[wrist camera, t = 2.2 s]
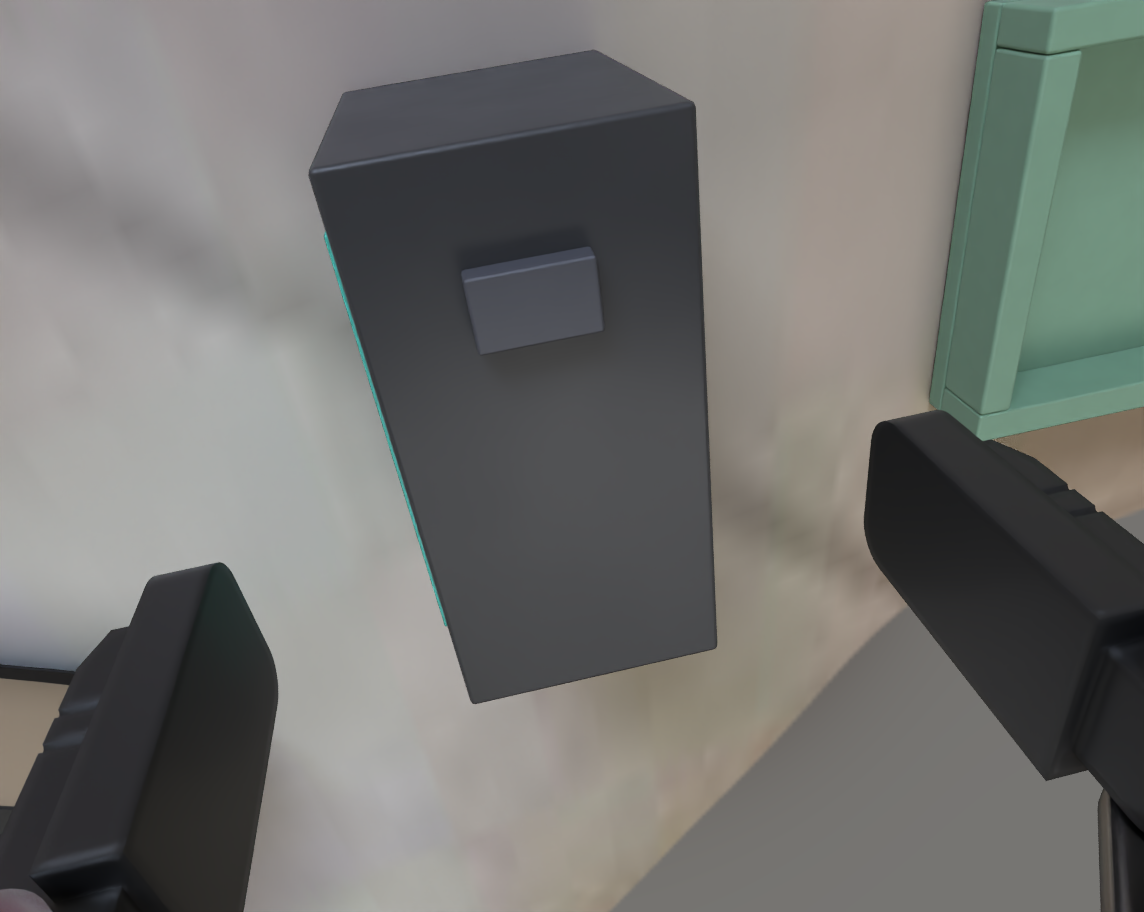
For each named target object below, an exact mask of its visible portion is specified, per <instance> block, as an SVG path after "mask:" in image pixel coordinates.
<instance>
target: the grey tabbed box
mask: <svg viewBox="0 0 1144 912" xmlns="http://www.w3.org/2000/svg"><path fill="white" fill-rule="evenodd" d="M309 179H310V182H311V185H312V188H313V192H314V195H315V198H316V201H317V205H318V208H319V211H320V214H321V217H322V221H323V224H324V227H325V230H326V231H325V234H324V239H325V242H326V245H327V248H328V252H329V255H330V258H331V261H332V264H333V268H334V271H335V274H336V277H337V281H338V284H339V287H340V290H341V293H342V297H343V300H344V303H345V306H346V309H347V313H348V316H349V319H350V322H351V326H352V329H353V332H354V335H355V338H356V342H357V345H358V348H359V351H360V354H361V358H362V361H363V364H364V367H365V371H366V374H367V377H368V380H369V383H370V387H371V390H372V393H373V396H374V399H375V403H376V406H377V409H378V412H379V416H380V419H381V422H382V425H383V428H384V432H385V435H386V438H387V441H388V444H389V448H390V451H391V454H392V457H393V461H394V464H395V467H396V470H397V473H398V477H399V480H400V483H401V486H402V489H403V493H404V496H405V499H406V502H407V506H408V509H409V512H410V515H411V518H412V522H413V525H414V528H415V531H416V534H417V538H418V541H419V544H420V547H421V551H422V554H423V557H424V560H425V563H426V567H427V570H428V573H429V576H430V580H431V583H432V586H433V589H434V592H435V596H436V599H437V602H438V605H439V608H440V612H441V615H442V618H443V621H444V625H445V626H448V629H449V632H450V636H451V639H452V642H453V645H454V649H455V652H456V655H457V658H458V662H459V665H460V668H461V671H462V675H463V678H464V681H465V684H466V688H467V691H468V694H469V697H470V700H471V702H472V703H473V704H478V703H482V702H487V701H491V700H495V699H500V698H504V697H508V696H513V695H517V694H521V693H526V692H530V691H534V690H539V689H543V688H547V687H552V686H556V685H561V684H565V683H569V682H574V681H578V680H582V679H587V678H591V677H595V676H600V675H604V674H608V673H613V672H617V671H621V670H626V669H630V668H634V667H639V666H643V665H647V664H652V663H656V662H660V661H665V660H669V659H673V658H678V657H682V656H686V655H691V654H695V653H699V652H704V651H708V650H713V649H715V648H716V647H717V626H716V601H715V576H714V551H713V527H712V502H711V477H710V452H709V427H708V403H707V378H706V353H705V328H704V303H703V279H702V254H701V229H700V204H699V180H698V155H697V130H696V107H695V105H694V102H692V101H690V100H689V99H687V98H685V97H683V96H681V95H679V94H677V93H675V92H674V91H672V90H670V89H668V88H666V87H664V86H662V85H660V84H659V83H657V82H655V81H653V80H651V79H649V78H647V77H645V76H644V75H642V74H640V73H638V72H636V71H634V70H632V69H630V68H629V67H627V66H625V65H623V64H621V63H619V62H617V61H615V60H614V59H612V58H610V57H608V56H606V55H604V54H602V53H601V52H599V51H596V50H590V51H584V52H578V53H572V54H567V55H561V56H555V57H549V58H543V59H537V60H531V61H525V62H520V63H514V64H508V65H502V66H496V67H490V68H484V69H478V70H473V71H467V72H461V73H455V74H449V75H443V76H437V77H431V78H426V79H420V80H414V81H408V82H402V83H396V84H390V85H384V86H379V87H373V88H367V89H361V90H355V91H349V92H345V93H343V94H342V96H341V99H340V101H339V103H338V105H337V108H336V110H335V112H334V115H333V117H332V119H331V121H330V124H329V126H328V128H327V130H326V133H325V135H324V137H323V140H322V142H321V144H320V146H319V149H318V151H317V153H316V156H315V158H314V160H313V162H312V165H311V167H310V169H309Z"/></svg>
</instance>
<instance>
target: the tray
mask: <svg viewBox="0 0 1144 912" xmlns="http://www.w3.org/2000/svg"><path fill="white" fill-rule="evenodd" d="M929 402H930V404H931V405H933V406H934V407H935V408H936V409H937V410H943V411H946V412H947V413H949V414H950V415H952V416H953V417H954V418H955V419H957V420H958V421H959V422H960V423H961V424H963V425H964V426H965V427H966V428H967V429H969V430H970V431H971V432H972V433H973V434H975V435H976V436H977V437H978V438H979V439H981V440H982V441H986V440H990V439H991V440H992V439H996V438H1001V437H1006V436H1010V435H1015V434H1019V433H1024V432H1029V431H1033V430H1038V429H1043V428H1047V427H1052V426H1056V425H1061V424H1066V423H1070V422H1075V421H1080V420H1084V419H1089V418H1093V417H1098V416H1103V415H1107V414H1112V413H1117V412H1121V411H1126V410H1130V409H1135V408H1140V407H1144V0H993V1H988V2H987V3H985V5H984V12H983V19H982V26H981V34H980V41H979V48H978V55H977V62H976V69H975V77H974V84H973V91H972V98H971V105H970V112H969V120H968V127H967V134H966V141H965V148H964V156H963V163H962V170H961V177H960V184H959V191H958V199H957V206H956V213H955V220H954V227H953V234H952V242H951V249H950V256H949V263H948V270H947V278H946V285H945V292H944V299H943V306H942V313H941V321H940V328H939V335H938V342H937V349H936V356H935V364H934V371H933V378H932V385H931V392H930V399H929Z"/></svg>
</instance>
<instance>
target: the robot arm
mask: <svg viewBox="0 0 1144 912" xmlns="http://www.w3.org/2000/svg"><path fill="white" fill-rule="evenodd" d="M1067 485H1068V484H1067V483H1066V482H1064V481H1063V480H1062V479H1061V478H1059V477H1058V476H1057V475H1056V474H1054V473H1053V472H1052V471H1050V470H1049V469H1048V468H1047V467H1045V466H1044V465H1043V464H1042V463H1040V462H1039V461H1038V460H1037V459H1035V458H1033V457H1031V456H1029V455H1026V454H1024V453H1022V452H1019V451H1017V450H1015V449H1012V448H1010V447H1008V446H1005V445H1003V444H1001V443H998V442H996V441H994V440H991V439H990V440H986V441H982V440H981V439H979V438H978V437H977V436H976V435H975V434H973V433H972V432H971V431H970V430H969V429H967V428H966V427H965V426H964V425H963V424H961V423H960V422H959V421H958V420H957V419H955V418H954V417H953V416H952V415H950V414H949V413H947V412H946V411H943V410H934V411H929V412H925V413H920V414H915V415H911V416H906V417H902V418H897V419H892V420H888V421H883V422H880V423H878V424H877V426H876V427H875V429H874V431H873V434H872V439H871V448H870V459H869V470H868V480H867V491H866V502H865V512H864V530H865V536H866V540H867V544H868V547H869V550H870V552H871V555H872V557H873V559H874V561H875V562H876V564H877V566H878V567H879V569H880V570H881V571H882V572H883V574H884V575H885V576H886V578H887V579H888V580H889V581H890V583H891V584H892V585H893V586H894V588H895V589H896V590H897V592H898V593H899V594H900V595H901V597H902V598H903V599H904V600H905V602H906V603H907V604H908V606H909V607H910V608H911V609H912V611H913V612H914V613H915V614H916V616H917V617H918V618H919V620H920V621H921V622H922V623H923V625H924V626H925V627H926V628H927V630H928V631H929V632H930V634H931V635H932V636H933V637H934V639H935V640H936V641H937V643H938V644H939V645H940V646H941V647H942V649H943V650H944V651H945V653H946V654H947V655H948V657H949V658H950V659H951V660H952V662H953V663H954V664H955V665H956V667H957V668H958V669H959V671H960V672H961V673H962V674H963V676H964V677H965V678H966V680H967V681H968V682H969V683H970V685H971V686H972V687H973V688H974V690H975V691H976V692H977V693H978V695H979V696H980V697H981V699H982V700H983V701H984V702H985V704H986V705H987V706H988V708H989V709H990V710H991V711H992V713H993V714H994V715H995V716H996V718H997V719H998V720H999V722H1000V723H1001V724H1002V725H1003V727H1004V728H1005V729H1006V730H1007V732H1008V733H1009V734H1010V735H1011V737H1012V738H1013V739H1014V741H1015V742H1016V743H1017V744H1018V746H1019V747H1020V748H1021V750H1022V751H1023V752H1024V753H1025V755H1026V756H1027V757H1028V759H1029V760H1030V761H1031V762H1032V764H1033V765H1034V766H1035V767H1036V769H1037V770H1038V771H1039V773H1040V774H1041V775H1042V776H1043V778H1044V779H1045V780H1046V781H1047V780H1051V779H1055V778H1059V777H1063V776H1067V775H1070V774H1075V773H1078V772H1082V771H1086V770H1089V772H1090V773H1091V774H1092V775H1093V776H1094V777H1095V779H1096V780H1097V781H1098V782H1099V783H1100V784H1101V786H1102V787H1103V791H1102V793H1101V796H1100V799H1099V802H1098V837H1099V869H1100V898H1101V899H1100V901H1101V912H1144V544H1143V543H1142V542H1140V541H1139V540H1138V539H1137V538H1135V537H1134V536H1133V535H1132V534H1130V533H1129V532H1128V531H1127V530H1125V529H1124V528H1123V527H1121V526H1120V525H1119V524H1118V523H1116V522H1115V521H1114V520H1113V519H1111V518H1110V517H1109V516H1108V515H1106V514H1105V513H1104V512H1097V511H1096V510H1095V505H1094V504H1092V503H1091V502H1090V501H1088V500H1087V499H1086V498H1085V497H1083V496H1082V495H1081V494H1080V493H1078V492H1077V491H1076V490H1075V489H1073V490H1069V489H1068V486H1067ZM277 704H278V680H277V673H276V668H275V664H274V660H273V657H272V654H271V652H270V649H269V647H268V645H267V643H266V641H265V639H264V637H263V635H262V633H261V631H260V629H259V627H258V625H257V623H256V621H255V619H254V617H253V615H252V613H251V610H250V608H249V606H248V604H247V602H246V600H245V598H244V596H243V594H242V592H241V590H240V588H239V586H238V584H237V582H236V580H235V578H234V576H233V574H232V572H231V571H230V569H229V568H228V567H227V566H226V565H225V564H223V563H220V562H218V563H214V564H209V565H204V566H200V567H195V568H190V569H186V570H181V571H176V572H172V573H167V574H162V575H158V576H154V577H152V578H151V579H150V580H149V581H148V582H147V584H146V586H145V588H144V591H143V593H142V596H141V598H140V601H139V603H138V606H137V608H136V611H135V613H134V616H133V618H132V620H131V623H130V625H129V627H124V628H120V629H115V630H111V631H110V632H109V633H108V635H107V636H106V637H105V638H104V639H103V640H102V641H101V642H100V644H99V645H98V646H97V647H96V648H95V649H94V650H93V651H92V652H91V654H90V655H89V656H88V657H87V658H86V659H85V660H84V661H83V663H82V664H81V665H80V666H79V667H78V668H77V669H76V672H75V674H74V676H73V678H72V680H71V683H70V685H69V687H68V689H67V691H66V694H65V696H64V698H63V700H62V702H61V705H60V707H59V709H58V711H59V717H57V718H54V720H53V722H52V724H51V727H50V729H49V731H48V733H47V735H46V738H45V740H44V742H43V744H42V745H43V748H44V750H43V753H38V755H37V757H36V759H35V762H34V764H33V766H32V768H31V770H30V773H29V775H28V777H27V779H26V781H25V784H24V786H23V788H22V790H21V792H20V795H19V797H18V799H17V801H16V803H15V806H14V808H13V810H12V812H11V814H10V817H9V819H8V821H7V823H6V825H5V828H4V830H3V832H2V834H1V836H0V912H243V911H244V905H245V899H246V893H247V887H248V881H249V875H250V869H251V863H252V857H253V851H254V845H255V839H256V832H257V826H258V820H259V814H260V808H261V802H262V796H263V790H264V784H265V778H266V772H267V766H268V760H269V753H270V747H271V741H272V735H273V729H274V723H275V717H276V711H277Z"/></svg>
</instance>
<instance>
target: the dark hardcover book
mask: <svg viewBox="0 0 1144 912" xmlns="http://www.w3.org/2000/svg"><path fill="white" fill-rule="evenodd" d="M74 674H75V671H65V670H54V669H43V668H32V667H21V666H10V665H0V836H1V834H2V832H3V830H4V828H5V825H6V823H7V821H8V819H9V817H10V814H11V812H12V810H13V808H14V806H15V803H16V801H17V799H18V797H19V795H20V792H21V790H22V788H23V786H24V784H25V781H26V779H27V777H28V775H29V773H30V770H31V768H32V766H33V764H34V762H35V759H36V757H37V755H38V753H43V750H44V748H43V745H42V744H43V742H44V740H45V738H46V735H47V733H48V731H49V729H50V727H51V724H52V722H53V720H54V718H57V717H59V711H58V709H59V707H60V705H61V702H62V700H63V698H64V696H65V694H66V691H67V689H68V687H69V685H70V683H71V680H72V678H73V676H74Z"/></svg>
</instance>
